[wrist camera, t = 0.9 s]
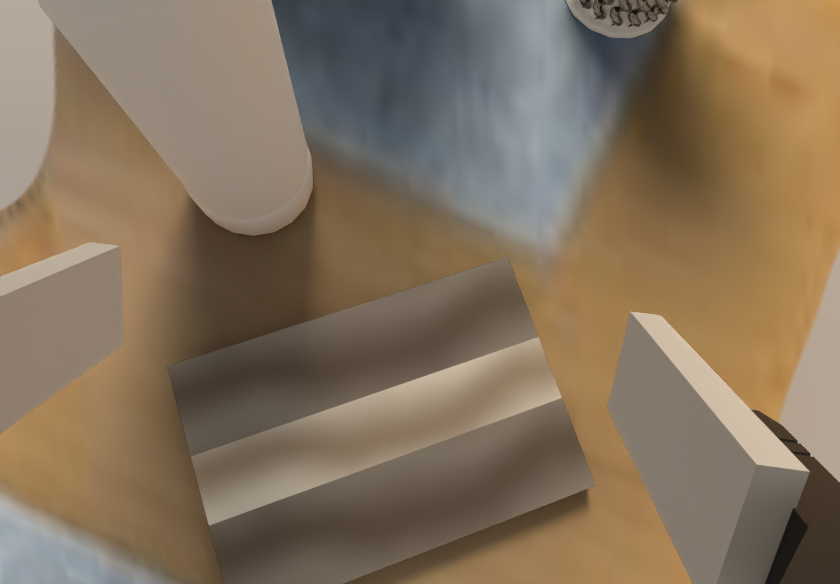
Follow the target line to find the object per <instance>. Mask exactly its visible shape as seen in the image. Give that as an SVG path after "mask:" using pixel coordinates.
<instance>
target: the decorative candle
mask: <svg viewBox="0 0 840 584" xmlns="http://www.w3.org/2000/svg"><path fill="white" fill-rule="evenodd" d="M565 1H566V3H567V4H568V6H569V8H570V10H571V12H572V14H573V16H575V17H576V18H577V19H578V20H579V21H580V22H582V23H583V24H584V25H585V26H586V27H587V28H588V29H590V30H592V31H594V32H597V33H600V34H602V35H605V36H607V37H610V38H634V37H637V36H640V35H643V34H645V33H648V32H651V31H652V30H653V29H654V28H655V27H656V26H657V25H658V24H659V23H660V22H661V21H662V20H663V19H664V17H665V16H666V14H667V13H668V12H669V8H668V7H669V4H670V1H671V2H673V3H675V2H677V0H565Z"/></svg>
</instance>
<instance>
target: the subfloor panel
mask: <svg viewBox="0 0 840 584" xmlns="http://www.w3.org/2000/svg"><path fill="white" fill-rule="evenodd" d="M167 368H168V371H169V375H170V379H171V383H172V387H173V391H174V394H175V398H176V402H177V406H178V410H179V414H180V417H181V421H182V425H183V429H184V433H185V437H186V440H187V444H188V448H189V452H190V456H191V459H192V463H193V467H194V471H195V475H196V479H197V482H198V486H199V490H200V494H201V498H202V502H203V505H204V509H205V513H206V517H207V521H208V525H209V528H210V532H211V536H212V540H213V544H214V548H215V551H216V555H217V559H218V563H219V567H220V571H221V574H222V578H223V582H224V584H344V583H346V582H349V581H352V580H354V579H357V578H359V577H362V576H365V575H367V574H370V573H372V572H375V571H377V570H380V569H383V568H385V567H388V566H390V565H393V564H395V563H398V562H401V561H403V560H406V559H408V558H411V557H413V556H416V555H419V554H421V553H424V552H426V551H429V550H432V549H434V548H437V547H439V546H442V545H444V544H447V543H450V542H452V541H455V540H457V539H460V538H462V537H465V536H468V535H470V534H473V533H475V532H478V531H480V530H483V529H486V528H488V527H491V526H493V525H496V524H498V523H501V522H504V521H506V520H509V519H511V518H514V517H517V516H519V515H522V514H524V513H527V512H529V511H532V510H535V509H537V508H540V507H542V506H545V505H547V504H550V503H553V502H555V501H558V500H560V499H563V498H565V497H568V496H571V495H573V494H576V493H578V492H581V491H584V490H586V489H589V488H591V487H594V486H596V485H595V482H594V480H593V477H592V475H591V472H590V469H589V467H588V464H587V462H586V459H585V456H584V454H583V451H582V449H581V446H580V443H579V441H578V438H577V436H576V433H575V430H574V428H573V425H572V423H571V420H570V417H569V415H568V412H567V410H566V407H565V404H564V402H563V399H562V397H561V394H560V392H559V389H558V386H557V384H556V381H555V379H554V376H553V373H552V371H551V368H550V366H549V363H548V360H547V358H546V355H545V353H544V350H543V347H542V345H541V342H540V340H539V337H538V334H537V332H536V329H535V327H534V324H533V321H532V319H531V316H530V314H529V311H528V308H527V306H526V303H525V301H524V298H523V295H522V293H521V290H520V288H519V285H518V282H517V280H516V277H515V275H514V272H513V269H512V267H511V264H510V262H509V259H508V257H506V258H503V259H500V260H497V261H494V262H491V263H487V264H484V265H481V266H478V267H475V268H472V269H469V270H466V271H463V272H459V273H456V274H453V275H450V276H447V277H444V278H441V279H438V280H434V281H431V282H428V283H425V284H422V285H419V286H416V287H413V288H409V289H406V290H403V291H400V292H397V293H394V294H391V295H388V296H385V297H381V298H378V299H375V300H372V301H369V302H366V303H363V304H360V305H356V306H353V307H350V308H347V309H344V310H341V311H338V312H335V313H331V314H328V315H325V316H322V317H319V318H316V319H313V320H310V321H307V322H303V323H300V324H297V325H294V326H291V327H288V328H285V329H282V330H278V331H275V332H272V333H269V334H266V335H263V336H260V337H257V338H253V339H250V340H247V341H244V342H241V343H238V344H235V345H232V346H229V347H225V348H222V349H219V350H216V351H213V352H210V353H207V354H204V355H200V356H197V357H194V358H191V359H188V360H185V361H182V362H179V363H176V364H172V365H169V366H167Z"/></svg>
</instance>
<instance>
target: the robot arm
mask: <svg viewBox="0 0 840 584" xmlns="http://www.w3.org/2000/svg"><path fill="white" fill-rule="evenodd" d="M122 345H124V330H123V307H122V284H121V261H120V246H118V245H110V244H102V243H95V242H89V243H87V244H84V245H81V246H79V247H76V248H73V249H71V250H68V251H66V252H63V253H60V254H58V255H55V256H52V257H50V258H47V259H45V260H42V261H39V262H37V263H34V264H31V265H29V266H26V267H23V268H21V269H18V270H16V271H13V272H10V273H8V274H5V275H2V276H0V434H1V433H2V432H3V431H5V430H6V429H8V428H9V427H10V426H12V425H13V424H14V423H16V422H17V421H19V420H20V419H21V418H23V417H24V416H25V415H27V414H28V413H30V412H31V411H32V410H34V409H35V408H37V407H38V406H39V405H41V404H42V403H43V402H45V401H46V400H48V399H49V398H50V397H52V396H53V395H55V394H56V393H57V392H59V391H60V390H61V389H63V388H64V387H66V386H67V385H68V384H70V383H71V382H72V381H74V380H75V379H77V378H78V377H79V376H81V375H82V374H84V373H85V372H86V371H88V370H89V369H90V368H92V367H93V366H95V365H96V364H97V363H99V362H100V361H101V360H103V359H104V358H106V357H107V356H108V355H110V354H111V353H113V352H114V351H115V350H117V349H118V348H119V347H121V346H122ZM607 409H608V411H609V413H610V415H611V417H612V419H613V421H614V423H615V425H616V427H617V429H618V431H619V433H620V435H621V437H622V439H623V442H624V444H625V446H626V448H627V450H628V452H629V454H630V456H631V458H632V460H633V462H634V464H635V466H636V468H637V470H638V472H639V474H640V476H641V478H642V480H643V483H644V485H645V487H646V489H647V491H648V493H649V495H650V497H651V499H652V501H653V503H654V505H655V507H656V509H657V511H658V513H659V515H660V517H661V519H662V521H663V523H664V526H665V528H666V530H667V532H668V534H669V536H670V538H671V540H672V542H673V544H674V546H675V548H676V550H677V552H678V554H679V556H680V558H681V560H682V562H683V564H684V567H685V569H686V571H687V573H688V575H689V577H690V579H691V581H692V583H693V584H840V483H839V482H838V481H837V480H836V479H835V478H834V477H833V476H832V475H831V474H830V473H829V472H828V471H827V470H826V469H825V468H824V467H823V466H822V465H821V464H820V463H819V462H818V461H817V460H816V459H815V458H814V457H810V453H809V452H808V451H807V450H806V449H805V448H804V447H803V446H802V445H801V444H798V443H797V440H796V439H795V438H794V437H793V436H792V435H791V434H790V433H789V432H788V431H787V430H786V429H785V428H784V427H783V426H782V425H781V424H779V423H777V422H776V421H774V420H773V419H771V418H769V417H768V416H766V415H764V414H763V413H761V412H760V411H756V410H751V409H750V408H749V407H748V406H747V405H746V404H745V403H744V402H743V401H742V400H741V399H740V398H739V397H738V396H737V395H736V394H735V393H734V392H733V391H732V389H731V388H730V387H729V386H728V385H727V384H726V383H725V382H724V381H723V380H722V379H721V378H720V377H719V376H718V375H717V374H716V373H715V372H714V371H713V370H712V368H711V367H710V366H709V365H708V364H707V363H706V362H705V361H704V360H703V359H702V358H701V357H700V356H699V355H698V354H697V353H696V352H695V351H694V350H693V349H692V347H691V346H690V345H689V344H688V343H687V342H686V341H685V340H684V339H683V338H682V337H681V336H680V335H679V334H678V333H677V332H676V331H675V330H674V329H673V328H672V326H671V325H670V324H669V323H668V322H667V321H666V320H665V319H664V318H663V317H662V316H661V315H655V314H647V313H639V312H631V311H630V315H629V319H628V324H627V328H626V332H625V336H624V340H623V344H622V348H621V353H620V357H619V361H618V365H617V369H616V373H615V378H614V382H613V386H612V390H611V394H610V398H609V402H608V407H607Z"/></svg>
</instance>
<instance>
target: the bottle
mask: <svg viewBox="0 0 840 584" xmlns="http://www.w3.org/2000/svg"><path fill="white" fill-rule="evenodd" d="M38 1H39V4H40V6H41V8H42V9H43V10H44V11H45V13H46V14H47V15H48V16H49V18H50V19H51V20H52V21H53V23H54V24H55V25H56V27H57V28H58V29H59V30H60V32H61V33H62V34H63V35H64V37H65V38H66V39H67V40H68V42H69V43H70V44H71V45H72V47H73V48H74V49H75V50H76V52H77V53H78V54H79V55H80V57H81V58H82V59H83V60H84V62H85V63H86V64H87V65H88V67H89V68H90V69H91V70H92V72H93V73H94V74H95V75H96V77H97V78H98V79H99V80H100V82H101V83H102V84H103V85H104V87H105V88H106V89H107V90H108V92H109V93H110V94H111V95H112V97H113V98H114V99H115V100H116V102H117V103H118V104H119V105H120V107H121V108H122V109H123V110H124V112H125V113H126V114H127V115H128V117H129V118H130V119H131V120H132V122H133V123H134V124H135V125H136V127H137V128H138V129H139V130H140V132H141V133H142V134H143V135H144V137H145V138H146V139H147V140H148V142H149V143H150V144H151V145H152V147H153V148H154V149H155V150H156V152H157V153H158V154H159V155H160V157H161V158H162V159H163V160H164V162H165V163H166V164H167V165H168V167H169V168H170V169H171V170H172V172H173V173H174V174H175V175H176V177H177V178H178V179H179V180H180V182H181V183H182V184H183V185H184V187H185V188H186V190H187V193H188V194H189V196H190V197H191V198H192V199H193V200H194V202H195V203H196V204H197V205H198V206H199V207H200V208H201V210H202V211H203V212H204V213H205V214H206V215H207V216H208V217H209V218H211V219H212V220H213V222H214V223H216V224H217V225H219V226H221V227H223V228H225V229H227V230H229V231H231V232H233V233H238V234H245V235H251V236H256V235H261V234H267V233H272V232H276V231H277V230H279V229H281V228H283V227H285V226H286V225H288V224H290V223H292V222H293V221H294V220H295V219H296V218H297V217H298V215H299V214H300V213H301V212H302V211H303V210H304V209H305V208H306V205H307V203H308V200H309V198H310V195H311V193H312V190H313V169H312V158H311V154H310V151H309V149H308V146H307V144H306V140H305V136H304V132H303V128H302V124H301V120H300V116H299V112H298V108H297V103H296V99H295V95H294V91H293V87H292V83H291V79H290V75H289V71H288V66H287V62H286V58H285V54H284V50H283V46H282V42H281V38H280V33H279V29H278V25H277V21H276V17H275V13H274V9H273V5H272V1H271V0H38Z"/></svg>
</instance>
